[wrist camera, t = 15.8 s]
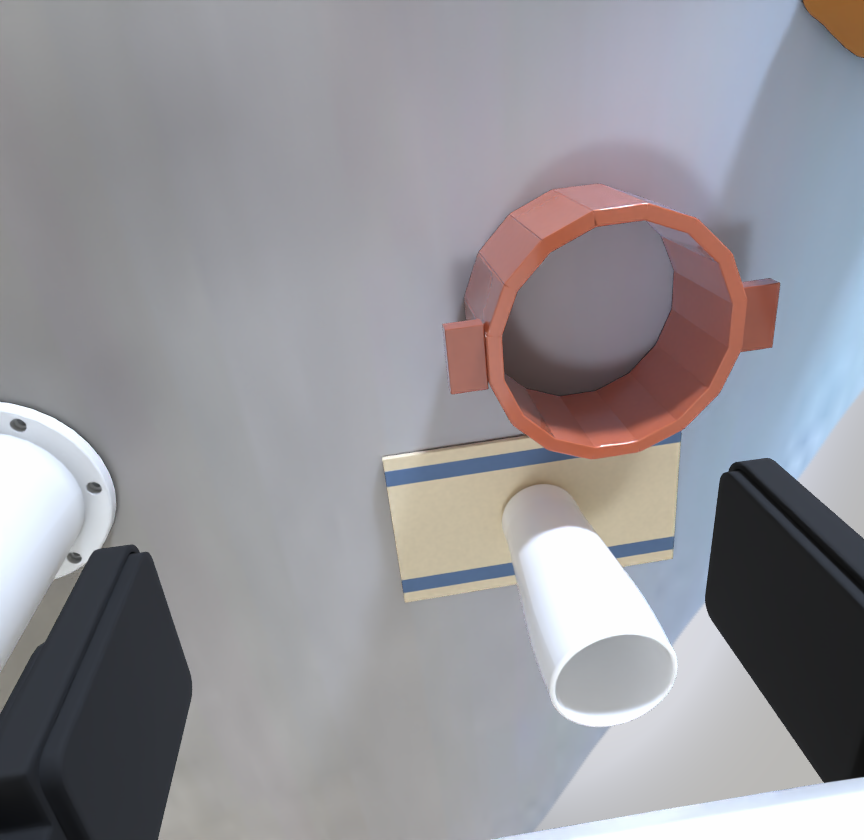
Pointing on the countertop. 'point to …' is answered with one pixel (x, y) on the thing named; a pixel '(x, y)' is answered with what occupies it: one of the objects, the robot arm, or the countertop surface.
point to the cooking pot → (662, 366)
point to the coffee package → (841, 21)
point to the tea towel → (491, 491)
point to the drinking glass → (584, 613)
